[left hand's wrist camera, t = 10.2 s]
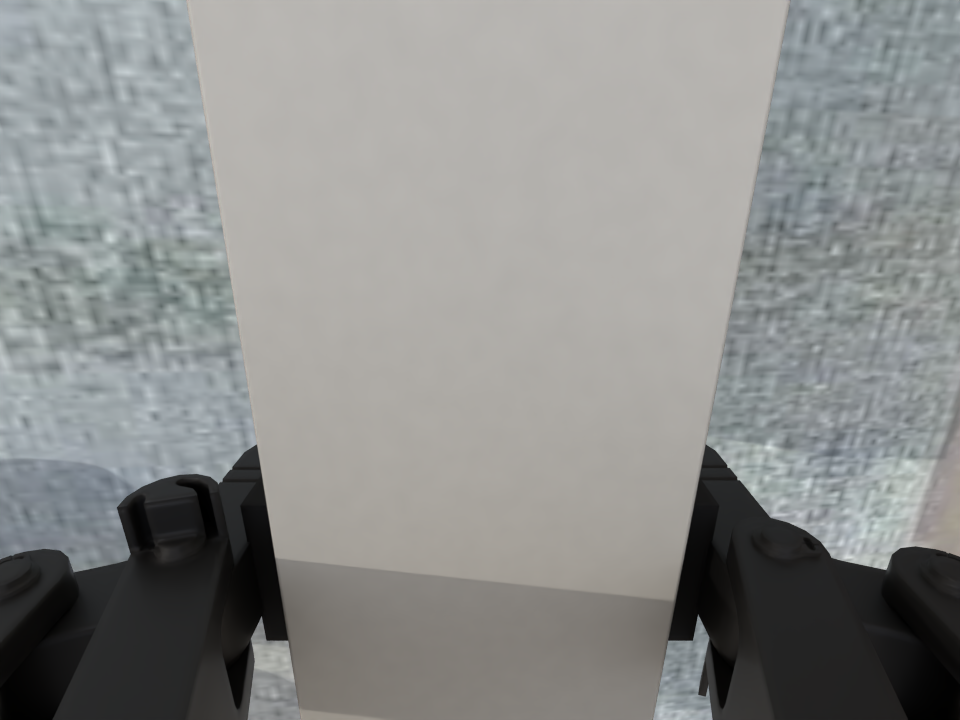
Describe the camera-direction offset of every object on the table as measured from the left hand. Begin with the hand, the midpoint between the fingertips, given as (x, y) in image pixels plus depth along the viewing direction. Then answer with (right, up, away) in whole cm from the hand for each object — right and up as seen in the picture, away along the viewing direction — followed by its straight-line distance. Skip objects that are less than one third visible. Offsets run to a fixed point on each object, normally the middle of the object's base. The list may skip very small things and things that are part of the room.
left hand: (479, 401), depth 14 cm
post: (0, +22, -8) cm, 23 cm away
